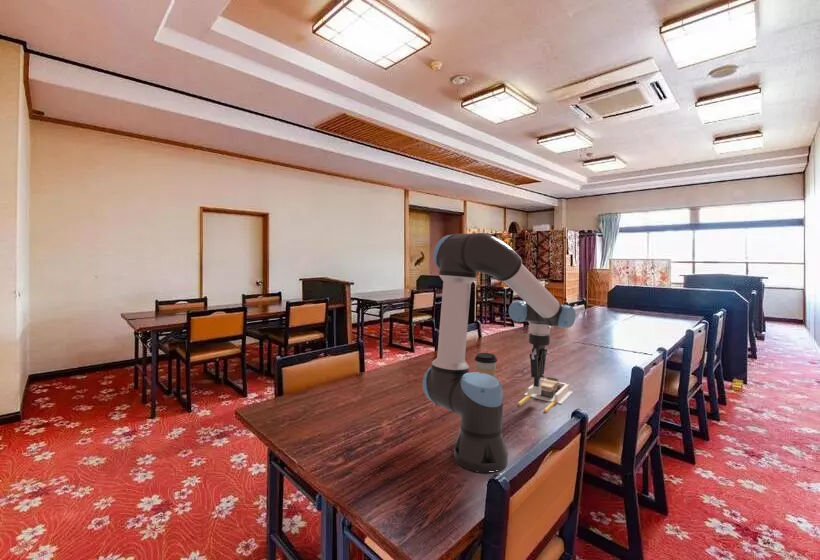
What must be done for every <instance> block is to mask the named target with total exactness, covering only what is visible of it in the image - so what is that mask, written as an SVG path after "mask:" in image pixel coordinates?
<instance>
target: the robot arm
mask: <svg viewBox="0 0 820 560" xmlns="http://www.w3.org/2000/svg"><path fill="white" fill-rule="evenodd" d="M432 258H433V263H434V264H435V267H436V268H437V269H438V270H439V271H438V274H439V277H440V279H441V281H442V282H443V283H442V293H441V294H442V295H441V307H440V319H439V320H440V321H439V331H438V341H437V344H438V345H437V354H436V356H437V357H436V358H435V359H433V361H431V366H429V368H427V370H426V372H425V373H424V374H423V378H422V389H423V392H424V395H425V396H426V398H427V399H428V400H430V402H432V403H434V404H435V405H436V406H438V407H440V408H444V409H445V410H448V411H450V412H452V413H454V414H456V415H459V416H460V430H459V433H458V436H457V439H456V442H455V445H454V448H453V457H454V460H456V461H455V462H456V463H457V464H458V465H459V466H460V465H461V466H460V467H462V466H463V467H465V468H467V469H466V470H468V469H469V470H468V471H470V470H473V471H472V472H474V471H478V472H477V473H479V472H489V471H496V470H500V469H502V470H503V469H505V468H506V467H507V465H508V463H509V454H508V453H509V452H508V449H507V446H506V443H505V440H504V436H503V409H504V408H503V406H504V392H503V385H502V383H501V382H500V381H499V380H498V378H496V376H495V377H493V376H490V375H488V374H485V373H482V374H481V373H479V372H477V371H473V372H471V371H470V370H469V369H470V365H469V364H468V363H467V362H466V360H465V359H466V349H467V348H466V347H467V335H468V324H469V312H470V311H469V310H470V299H471V288H472V287H471V286H472V284H473V282H475V281H476V280H477V277H478V273H480V274H486V275H488V276H491V277H493V278H494V279H495V280H496V281H499V282H503V283H505V285H506V286H507V287H508V288H510V289H511V290H512V291H513V292H514V293H516V295H518V297H519V298H521V299H522V300H521V299H520V300H516V301H513V302H511V303H510V305H509V307H508V315H509V318H510V319H511V320H512V321H514V322H518V323H519V322H520V323H523V322H529V328H528V330H529V331H528V332H529V334H528V335H529V336H528V343H529V344H531V345H533V346H532V350H531V353H529V360H530V373H531V374H530V378H533V381H532V382H533V384H532V385H533V394H537V395H541V385H542V379H545V367H546V359H547V353H548V349H546V346H549V345H550V338H551V336H550V334H551V329H552V327H555V328H556V327H557V328H563V329H564V328H566V329H569V328H571V327H572V326H573V325H574V324H575V321H576V319H577V317H576V316H577V314H576V310H575V308H574V307H573V306H571V305H567V304H562V303H561V302H560V301H559V300H558V299H556V297H555V296H554V295H553V294H552V293H551V292H550V291H549V290H548V289H547V288H546V287H545V286H544V285H543V284H542V282H540V281H539V279H537V278H536V276H535V275H534V274H532V272H531V271H529V270H528V268H527V267H526V266H525V265H524V264H523V260H522V257H521V256H520V255H519V254H518V252H516V251H515V250H514V249H513V248H512V247H511V246H510V245H509V244H507V243H506V242H504V241H502V240H501V239H500V238H497V237H496V236H494V235H491V234H489V233H485V232H475V233H474V232H473V233H470V232H469V233H454V234H453V233H452V234H448V235H445V236H442V238H441V239H440V240H438V242H436V245H435V246H434V249H433V255H432ZM469 371H470V372H469ZM463 467H462V468H463ZM465 468H464V469H465ZM500 471H501V470H500Z"/></svg>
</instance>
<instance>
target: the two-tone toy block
mask: <svg viewBox="0 0 820 560" xmlns="http://www.w3.org/2000/svg"><path fill="white" fill-rule="evenodd" d="M544 379H545V380H544V381H542V385H541V396H546V397H550V398H553V397H554V392H558V391H559V390H560V385H559V382H560V381H559V378H558V377H554V376H548V375H547V376H546V378H544Z"/></svg>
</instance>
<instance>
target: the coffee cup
mask: <svg viewBox="0 0 820 560" xmlns="http://www.w3.org/2000/svg"><path fill="white" fill-rule="evenodd" d="M474 360H475V362H476V363H475V364H476V372H479V373H481V374H482V373H485V374H488V375H490V376H493V377H495V378H496V369H497V367H496V366H497V365H496V364H497V362H498V358H497V357H496V355H495V354H494V353H489V352H479V353H477V354H476V356H475V357H474Z"/></svg>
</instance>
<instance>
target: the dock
mask: <svg viewBox="0 0 820 560" xmlns="http://www.w3.org/2000/svg"><path fill="white" fill-rule="evenodd" d="M545 379H546V378H542V381H544V380H545ZM559 385H560V390H559V391H558V392H554V397H553V398H550V397H546V396H541V395H537V394H533V384H531V385H530V386H528V387H527V391H526V392H525V393H524V394H523V396H524V397H523V398H522V399H521V400H520V401H518V402H517V406H522V405H523V404H525V403H526V402H527V401H529V399H531V398H533V399H538V400H541V401H542V400H543V401H545V402H550V403H549V404H547V406H546V407H545V408H544V409H543V412H544V413H548V412H549V411H550V410H552V408H553V407H554V406H555V405H556V404H558V405H562V404H563V403H564V402H566V401H567V400H568V399H569V397H570V396H572V394H573V393H574V391H572V390H571V391H570V383H565V382H560V381H559Z"/></svg>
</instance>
